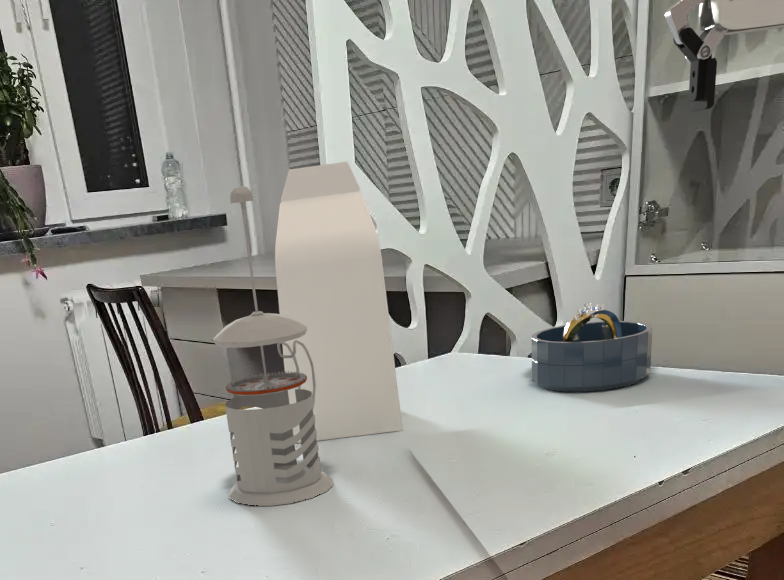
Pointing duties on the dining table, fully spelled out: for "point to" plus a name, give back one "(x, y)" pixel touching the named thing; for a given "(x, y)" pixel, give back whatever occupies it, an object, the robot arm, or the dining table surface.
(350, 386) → the milk
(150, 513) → the dining table surface
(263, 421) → the french press
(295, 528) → the dining table surface
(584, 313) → the ring
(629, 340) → the bowl
